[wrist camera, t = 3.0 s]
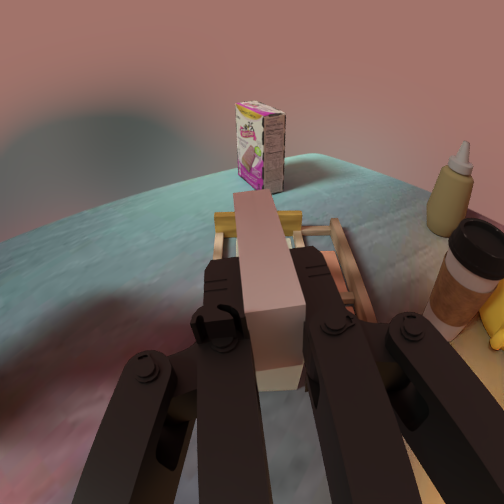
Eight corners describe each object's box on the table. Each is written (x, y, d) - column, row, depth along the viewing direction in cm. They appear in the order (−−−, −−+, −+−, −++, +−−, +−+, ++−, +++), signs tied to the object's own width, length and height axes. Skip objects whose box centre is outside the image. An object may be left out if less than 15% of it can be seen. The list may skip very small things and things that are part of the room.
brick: (296, 389, 30) (308, 344, 25) (239, 392, 30) (234, 347, 25) (285, 292, 41) (290, 238, 35) (239, 294, 41) (236, 239, 35)
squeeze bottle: (413, 223, 53) (437, 133, 42) (434, 212, 56) (457, 131, 45) (445, 247, 48) (477, 154, 36) (464, 234, 51) (493, 150, 39)
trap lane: (387, 388, 30) (400, 370, 27) (203, 402, 29) (197, 385, 27) (335, 230, 51) (339, 210, 49) (216, 233, 51) (214, 212, 48)
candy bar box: (236, 175, 67) (233, 102, 56) (256, 170, 69) (256, 99, 58) (262, 198, 59) (262, 114, 49) (284, 192, 61) (287, 111, 50)
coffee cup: (401, 322, 36) (444, 227, 27) (431, 292, 40) (470, 204, 30) (447, 362, 31) (509, 273, 21) (473, 325, 35) (524, 241, 25)
